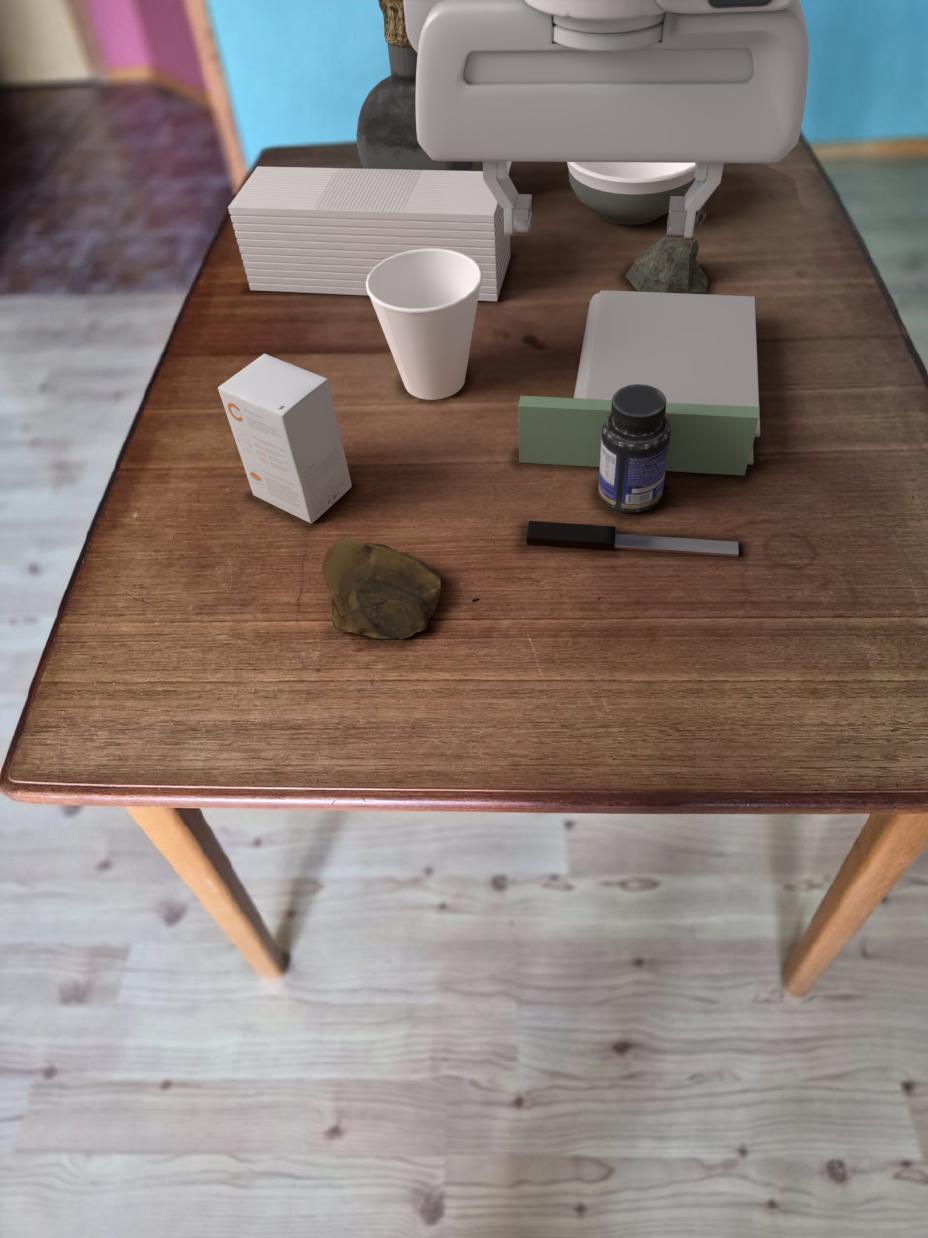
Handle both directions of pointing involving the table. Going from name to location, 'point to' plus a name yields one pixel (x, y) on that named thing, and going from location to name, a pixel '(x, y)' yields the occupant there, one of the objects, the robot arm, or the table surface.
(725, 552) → the table knife
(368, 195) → the white ribbed block
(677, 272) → the sword in stone
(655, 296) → the white rectangular block
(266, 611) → the table surface
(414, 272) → the cup
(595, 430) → the green board
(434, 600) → the decorative stone
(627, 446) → the pill bottle
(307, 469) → the small box
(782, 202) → the table surface
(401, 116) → the pitcher
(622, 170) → the bowl
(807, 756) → the table surface
